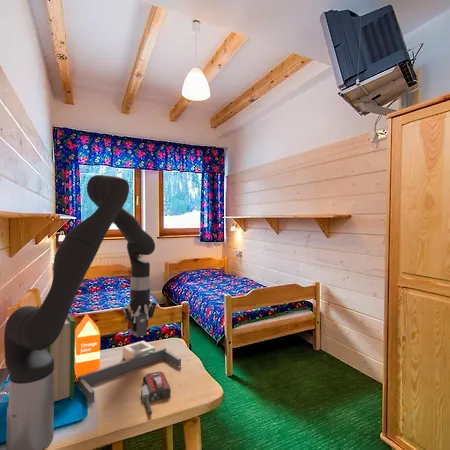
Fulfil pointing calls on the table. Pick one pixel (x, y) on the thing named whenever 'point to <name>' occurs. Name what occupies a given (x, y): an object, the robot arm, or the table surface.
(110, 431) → the table surface
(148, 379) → the walkie-talkie
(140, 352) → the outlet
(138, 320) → the plug
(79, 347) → the orange juice
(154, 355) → the cradle
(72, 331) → the hardback book
